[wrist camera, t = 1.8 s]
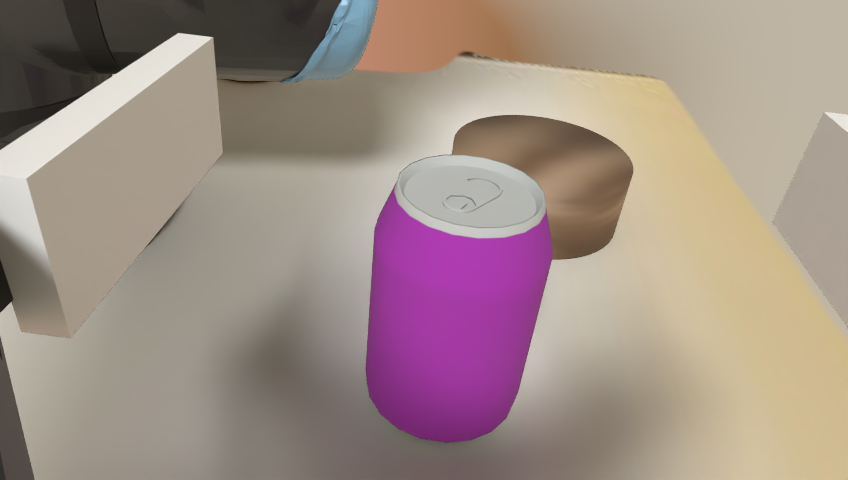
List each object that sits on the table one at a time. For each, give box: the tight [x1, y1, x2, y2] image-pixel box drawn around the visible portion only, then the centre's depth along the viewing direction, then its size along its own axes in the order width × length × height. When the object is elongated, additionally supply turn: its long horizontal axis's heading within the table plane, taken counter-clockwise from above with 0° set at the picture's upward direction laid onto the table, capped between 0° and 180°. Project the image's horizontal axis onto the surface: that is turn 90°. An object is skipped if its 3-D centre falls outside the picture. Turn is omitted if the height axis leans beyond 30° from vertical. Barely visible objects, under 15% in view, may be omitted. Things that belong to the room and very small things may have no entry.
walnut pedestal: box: [452, 115, 633, 259], centre depth 48 cm, size 13×13×5 cm
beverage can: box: [366, 155, 553, 443], centre depth 29 cm, size 8×8×12 cm
